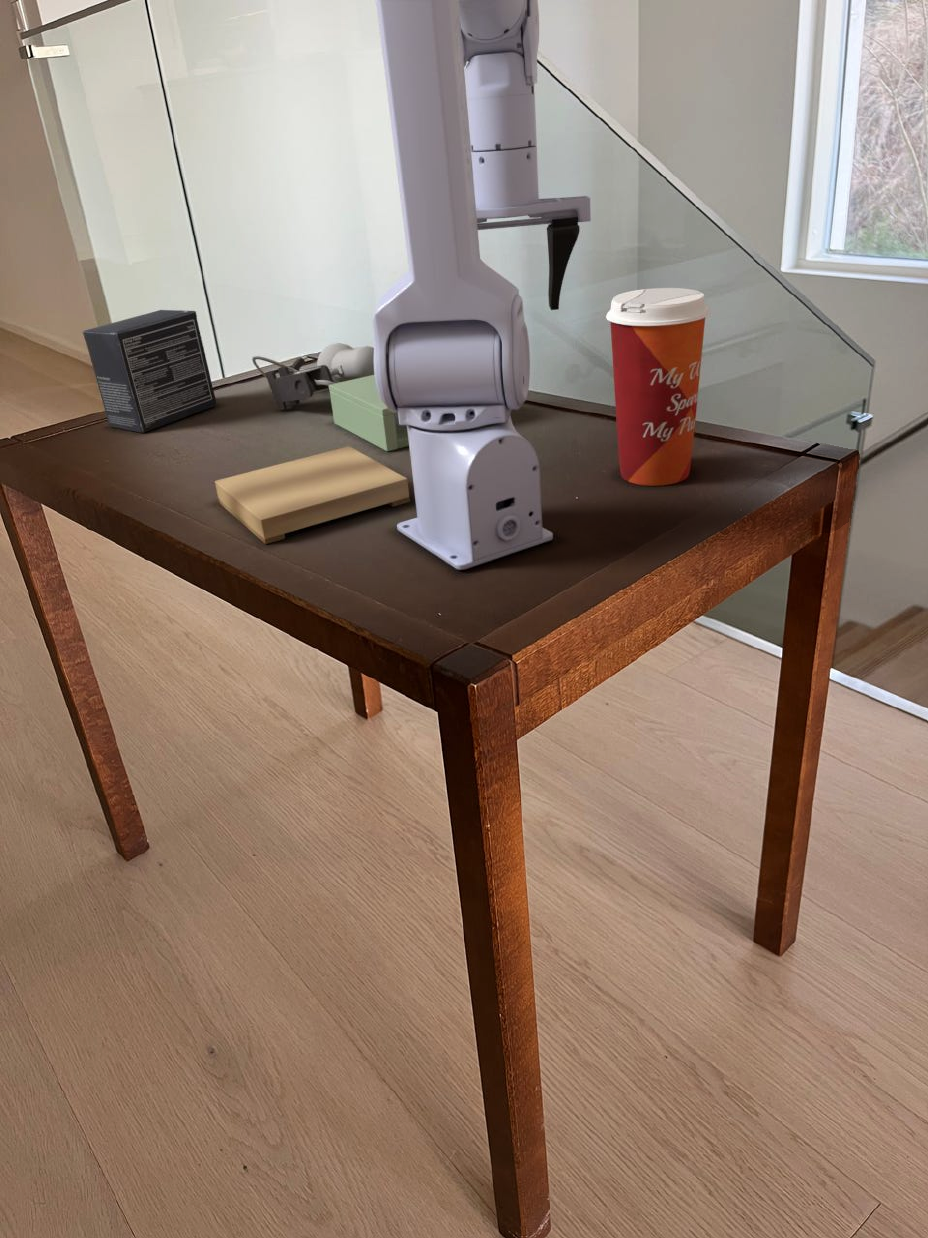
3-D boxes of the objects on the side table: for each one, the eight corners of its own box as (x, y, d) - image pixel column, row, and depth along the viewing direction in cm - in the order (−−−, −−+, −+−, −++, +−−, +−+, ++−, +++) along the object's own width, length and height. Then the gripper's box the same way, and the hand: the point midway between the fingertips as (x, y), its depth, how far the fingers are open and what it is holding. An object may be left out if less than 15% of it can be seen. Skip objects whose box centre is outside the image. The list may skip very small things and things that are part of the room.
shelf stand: (495, 422, 93) (493, 382, 91) (387, 451, 88) (381, 409, 86) (435, 398, 102) (431, 361, 100) (334, 423, 97) (328, 384, 95)
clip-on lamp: (246, 417, 113) (306, 413, 98) (226, 364, 110) (284, 352, 95) (331, 385, 118) (400, 377, 103) (313, 334, 115) (382, 318, 100)
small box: (182, 400, 110) (161, 307, 105) (219, 405, 107) (199, 309, 102) (105, 427, 103) (79, 328, 98) (143, 434, 100) (117, 331, 94)
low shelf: (410, 501, 77) (407, 478, 76) (265, 544, 71) (260, 520, 70) (352, 467, 85) (349, 445, 84) (219, 503, 80) (214, 480, 79)
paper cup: (670, 497, 73) (674, 309, 66) (588, 479, 78) (585, 302, 71) (721, 466, 78) (731, 288, 71) (641, 451, 83) (643, 283, 76)
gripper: (581, 138, 85) (584, 296, 91) (420, 153, 85) (435, 309, 92) (592, 142, 79) (595, 310, 85) (418, 158, 79) (434, 324, 86)
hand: (512, 311), depth 88 cm, fingers open, 7 cm apart
